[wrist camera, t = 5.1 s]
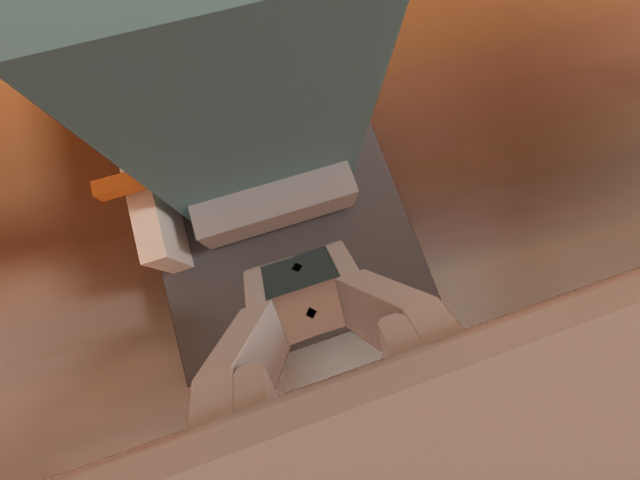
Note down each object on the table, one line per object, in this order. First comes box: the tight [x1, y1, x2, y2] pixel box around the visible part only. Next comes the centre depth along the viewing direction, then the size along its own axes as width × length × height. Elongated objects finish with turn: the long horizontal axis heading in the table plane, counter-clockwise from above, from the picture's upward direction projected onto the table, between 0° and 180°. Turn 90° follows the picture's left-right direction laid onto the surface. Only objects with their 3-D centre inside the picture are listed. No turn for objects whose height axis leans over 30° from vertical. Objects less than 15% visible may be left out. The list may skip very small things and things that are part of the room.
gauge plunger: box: [0, 0, 409, 249], centre depth 11 cm, size 10×5×10 cm, turn 108°
